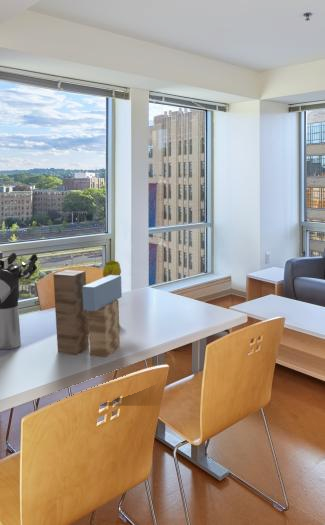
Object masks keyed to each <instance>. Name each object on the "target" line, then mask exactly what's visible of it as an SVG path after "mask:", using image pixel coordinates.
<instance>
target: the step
mask: <svg viewBox="0 0 325 525" xmlns="http://www.w3.org/2000/svg"><path fill="white" fill-rule="evenodd" d="M88 317H89V332H88V339H89V355H90V356H91V357H92V356H93V357H100V358H107V357H109V356H110V355H111V354H113V353H114V352H116V351H117V350H118V349H119V348H121V341H120V339H121V338H120V308H119V299H117V300H115V301H113V302H111V303H109V304H108V305H106V306H104V307H102V308H100V309H98V310H96V311H89V310H88Z"/></svg>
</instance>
